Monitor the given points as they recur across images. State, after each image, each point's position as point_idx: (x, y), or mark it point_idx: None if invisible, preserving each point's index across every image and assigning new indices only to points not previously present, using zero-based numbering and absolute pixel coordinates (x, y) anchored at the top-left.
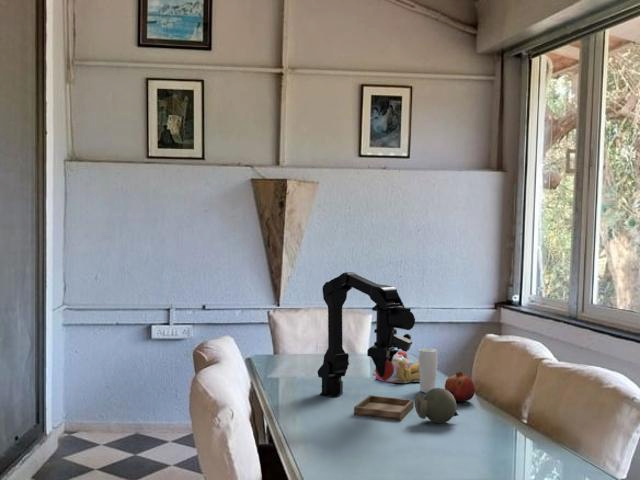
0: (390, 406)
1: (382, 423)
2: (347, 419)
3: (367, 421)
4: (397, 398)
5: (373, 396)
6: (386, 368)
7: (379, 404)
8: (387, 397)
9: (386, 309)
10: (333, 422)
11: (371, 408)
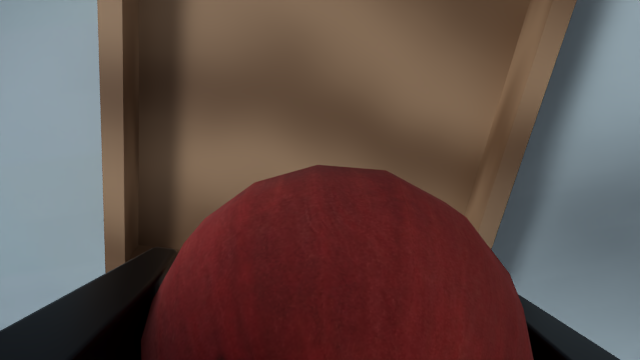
0: (234, 88)
1: (623, 90)
2: (545, 300)
3: (580, 190)
4: (106, 47)
5: (125, 248)
6: (526, 341)
7: (208, 176)
8: (112, 139)
9: None
10: (607, 351)
11: (488, 209)
